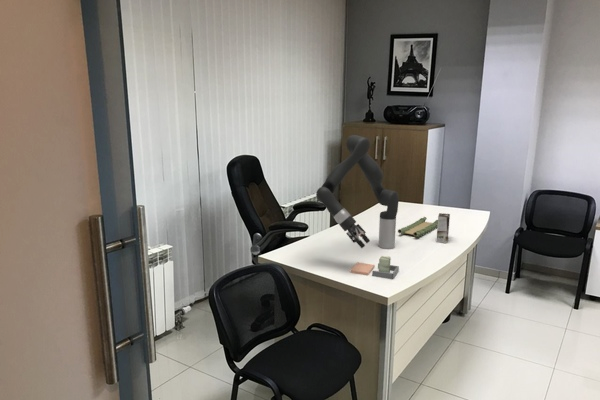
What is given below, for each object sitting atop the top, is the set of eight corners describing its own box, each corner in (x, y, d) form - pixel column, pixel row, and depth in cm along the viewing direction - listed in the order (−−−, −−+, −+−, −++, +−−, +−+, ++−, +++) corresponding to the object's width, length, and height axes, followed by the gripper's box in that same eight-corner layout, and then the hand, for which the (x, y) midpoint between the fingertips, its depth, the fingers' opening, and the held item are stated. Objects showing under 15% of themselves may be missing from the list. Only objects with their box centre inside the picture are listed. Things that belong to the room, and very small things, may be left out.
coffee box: (447, 243, 267) (449, 217, 264) (436, 242, 270) (437, 216, 266) (448, 239, 275) (450, 213, 272) (437, 238, 278) (439, 212, 274)
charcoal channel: (378, 267, 228) (378, 263, 228) (398, 271, 224) (398, 266, 224) (372, 275, 218) (372, 271, 218) (393, 279, 214) (393, 274, 213)
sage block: (380, 271, 224) (381, 255, 223) (389, 272, 223) (390, 257, 221) (378, 274, 220) (379, 258, 219) (387, 275, 219) (388, 260, 217)
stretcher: (417, 240, 273) (418, 233, 272) (395, 236, 282) (396, 228, 281) (442, 226, 305) (442, 219, 304) (422, 222, 313) (422, 215, 312)
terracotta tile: (357, 264, 233) (357, 262, 233) (374, 267, 229) (374, 264, 229) (350, 272, 222) (350, 270, 222) (368, 275, 219) (368, 273, 219)
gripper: (345, 218, 217) (367, 244, 215) (354, 211, 229) (375, 236, 227) (334, 227, 220) (356, 253, 218) (344, 220, 233) (364, 244, 230)
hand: (366, 244), depth 222 cm, fingers open, 8 cm apart
